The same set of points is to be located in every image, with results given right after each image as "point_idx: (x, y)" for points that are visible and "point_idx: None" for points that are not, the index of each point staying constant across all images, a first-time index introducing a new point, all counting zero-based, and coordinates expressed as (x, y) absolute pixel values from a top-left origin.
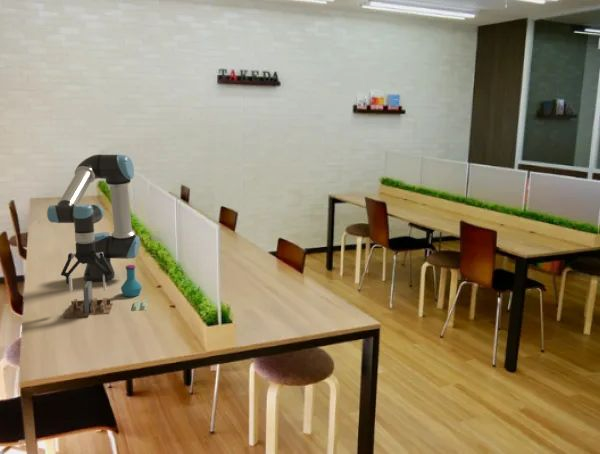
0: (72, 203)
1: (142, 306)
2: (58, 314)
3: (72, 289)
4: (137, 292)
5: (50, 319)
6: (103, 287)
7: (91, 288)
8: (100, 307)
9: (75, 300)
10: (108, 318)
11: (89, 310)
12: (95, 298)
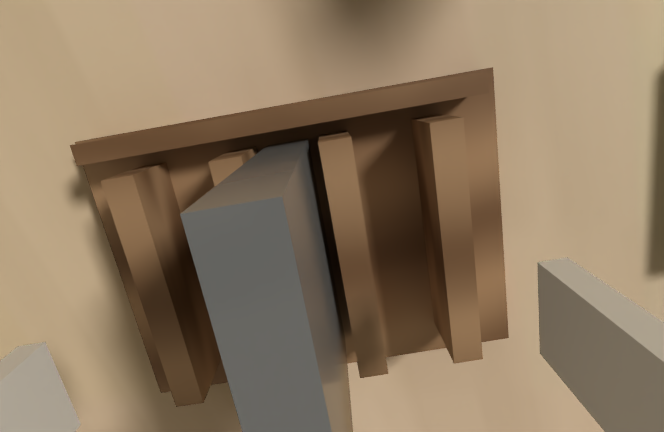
0: None
1: None
2: (81, 296)
3: (40, 359)
4: None
5: (83, 394)
6: (571, 390)
7: (304, 221)
8: (448, 349)
9: (137, 225)
10: (501, 368)
11: (343, 334)
12: (340, 148)
